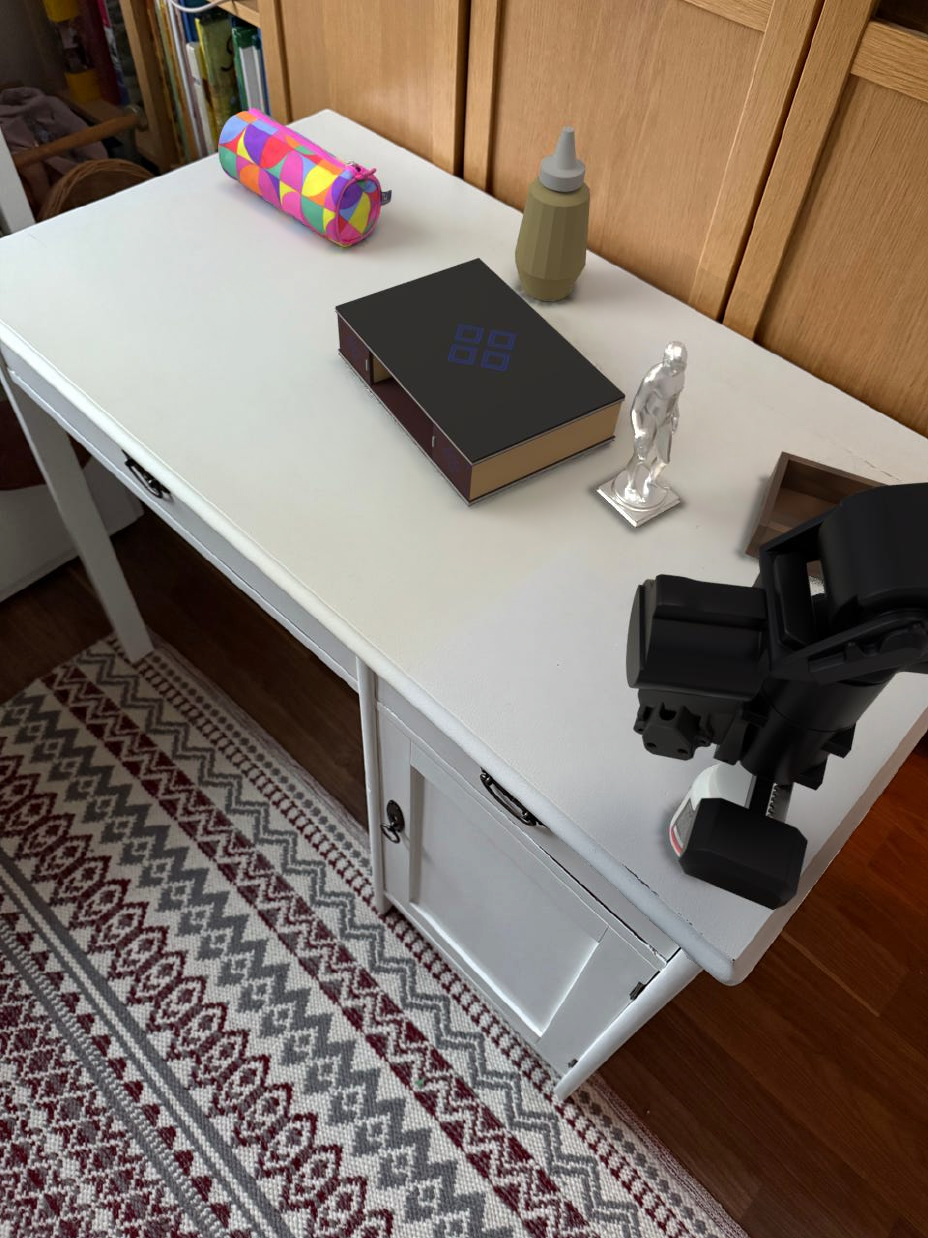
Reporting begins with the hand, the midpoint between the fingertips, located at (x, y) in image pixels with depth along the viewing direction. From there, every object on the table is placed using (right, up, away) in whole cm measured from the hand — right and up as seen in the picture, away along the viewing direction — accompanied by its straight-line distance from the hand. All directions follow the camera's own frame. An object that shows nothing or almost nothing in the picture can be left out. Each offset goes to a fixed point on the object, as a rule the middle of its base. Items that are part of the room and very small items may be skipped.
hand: (730, 804), depth 62 cm
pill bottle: (0, -4, +5) cm, 7 cm away
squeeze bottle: (-9, +51, +43) cm, 68 cm away
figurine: (-2, +24, +25) cm, 34 cm away
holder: (+14, +21, +23) cm, 34 cm away
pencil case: (-38, +63, +50) cm, 89 cm away
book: (-17, +35, +31) cm, 50 cm away
